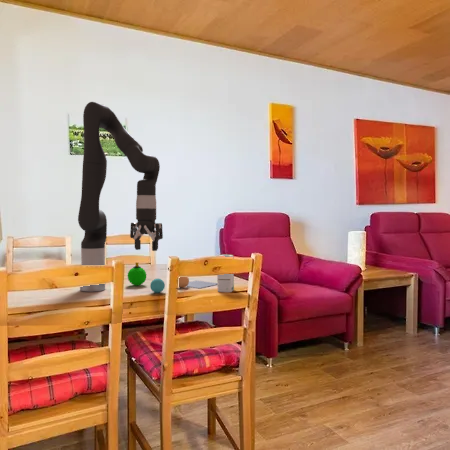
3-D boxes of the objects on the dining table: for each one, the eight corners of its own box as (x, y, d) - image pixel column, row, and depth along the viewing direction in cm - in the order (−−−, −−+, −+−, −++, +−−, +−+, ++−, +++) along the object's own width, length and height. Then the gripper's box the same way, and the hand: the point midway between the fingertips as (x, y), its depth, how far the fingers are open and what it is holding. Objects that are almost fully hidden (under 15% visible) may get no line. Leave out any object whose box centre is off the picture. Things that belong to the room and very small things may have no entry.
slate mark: (199, 288, 174) (199, 288, 174) (175, 285, 183) (175, 284, 183) (220, 284, 185) (220, 283, 185) (196, 280, 194) (196, 280, 194)
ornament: (149, 286, 181) (149, 262, 180) (131, 287, 176) (131, 264, 176) (142, 283, 187) (142, 261, 187) (125, 285, 183) (124, 262, 183)
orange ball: (175, 289, 173) (175, 275, 173) (176, 286, 179) (176, 273, 179) (188, 288, 174) (188, 275, 173) (189, 286, 179) (189, 273, 179)
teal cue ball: (149, 294, 162) (149, 279, 162) (151, 291, 168) (151, 277, 168) (163, 294, 163) (163, 279, 162) (165, 291, 168) (165, 277, 168)
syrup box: (231, 292, 166) (231, 255, 165) (217, 291, 167) (216, 255, 167) (234, 289, 171) (234, 254, 171) (220, 289, 173) (220, 254, 172)
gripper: (167, 207, 158) (167, 250, 159) (139, 207, 166) (139, 248, 166) (153, 207, 152) (153, 252, 152) (125, 207, 159) (125, 249, 160)
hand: (146, 250), depth 159 cm, fingers open, 8 cm apart
